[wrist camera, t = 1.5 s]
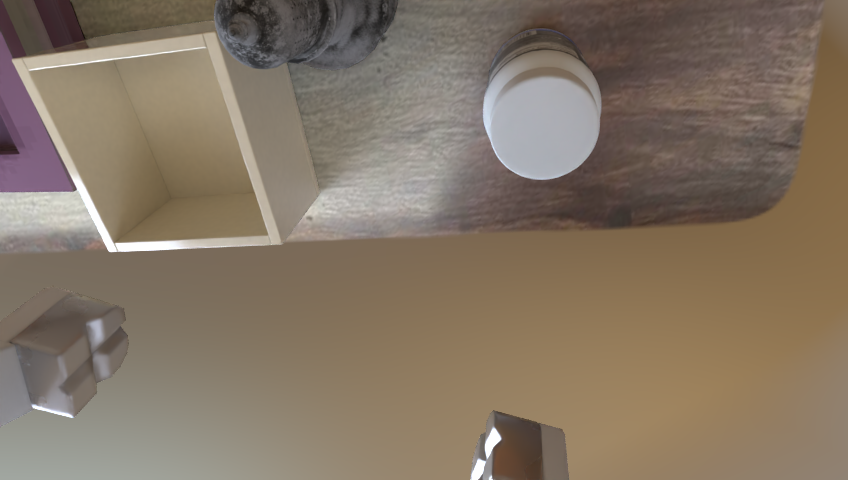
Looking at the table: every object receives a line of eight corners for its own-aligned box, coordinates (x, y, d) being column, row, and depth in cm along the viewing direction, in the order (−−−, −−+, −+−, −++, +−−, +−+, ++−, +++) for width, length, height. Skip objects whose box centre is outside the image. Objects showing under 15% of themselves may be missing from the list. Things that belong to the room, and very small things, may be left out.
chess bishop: (414, -62, 24) (338, -56, 14) (393, 66, 27) (318, 150, 17) (291, -92, 24) (124, -109, 14) (283, 39, 27) (143, 105, 17)
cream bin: (273, 11, 26) (215, 31, 21) (320, 192, 31) (282, 244, 26) (102, 35, 28) (9, 59, 23) (171, 202, 33) (108, 252, 28)
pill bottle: (576, 125, 27) (598, 195, 20) (485, 119, 28) (475, 186, 20) (593, 27, 25) (624, 67, 17) (492, 24, 25) (483, 61, 18)
